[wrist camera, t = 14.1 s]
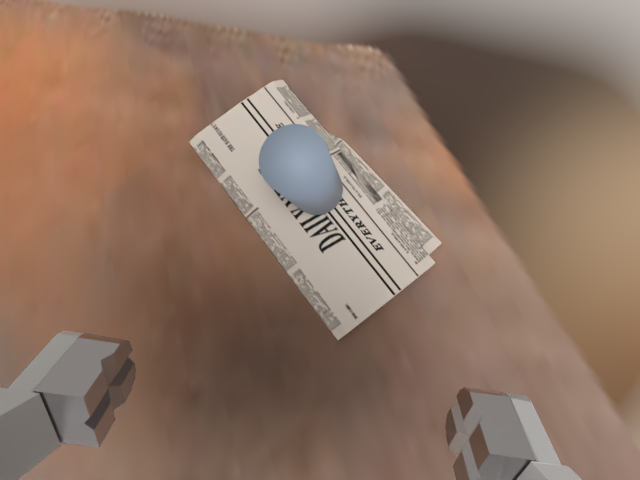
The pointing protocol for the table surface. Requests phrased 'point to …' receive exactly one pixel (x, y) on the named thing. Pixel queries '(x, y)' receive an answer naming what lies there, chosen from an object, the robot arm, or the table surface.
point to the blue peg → (301, 168)
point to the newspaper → (319, 230)
